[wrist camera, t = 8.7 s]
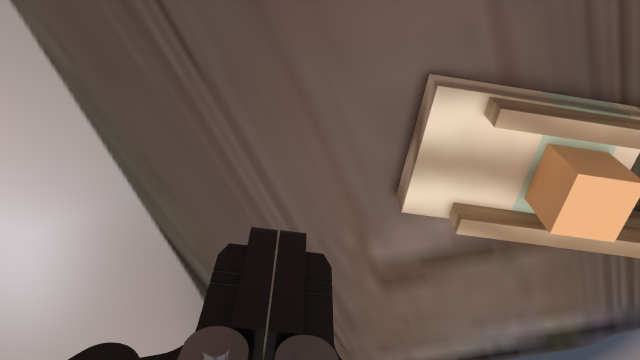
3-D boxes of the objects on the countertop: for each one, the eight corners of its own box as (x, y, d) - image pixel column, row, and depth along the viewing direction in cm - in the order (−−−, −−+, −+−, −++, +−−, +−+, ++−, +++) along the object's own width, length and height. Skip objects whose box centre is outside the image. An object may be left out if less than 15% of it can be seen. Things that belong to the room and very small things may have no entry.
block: (547, 143, 37) (578, 173, 33) (608, 152, 38) (647, 184, 33) (524, 198, 39) (549, 233, 35) (581, 206, 40) (614, 242, 36)
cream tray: (429, 73, 38) (447, 99, 32) (705, 117, 39) (764, 148, 34) (396, 193, 43) (407, 232, 38) (641, 227, 45) (684, 269, 39)
